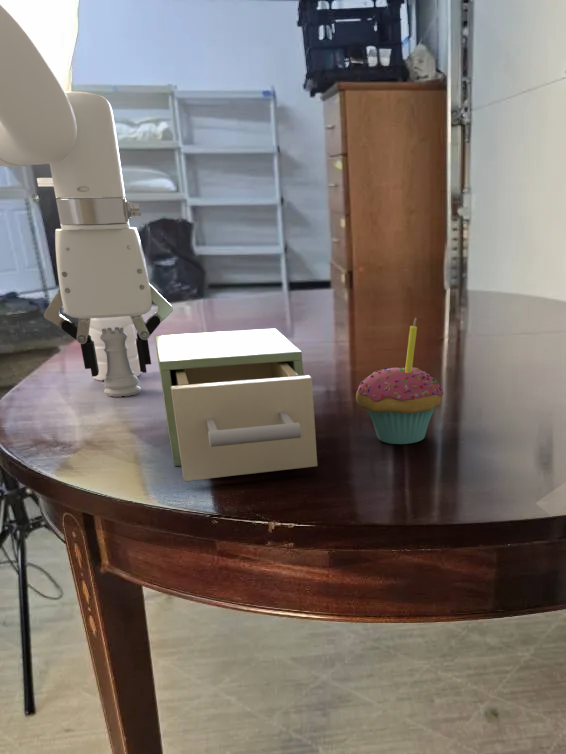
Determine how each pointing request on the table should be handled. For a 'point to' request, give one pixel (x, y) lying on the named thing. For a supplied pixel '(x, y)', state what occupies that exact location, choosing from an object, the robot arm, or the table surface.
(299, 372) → the cabinet
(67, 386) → the table surface
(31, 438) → the table surface
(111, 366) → the rook chess piece
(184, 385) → the drawer
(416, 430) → the cupcake
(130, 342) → the water bottle
